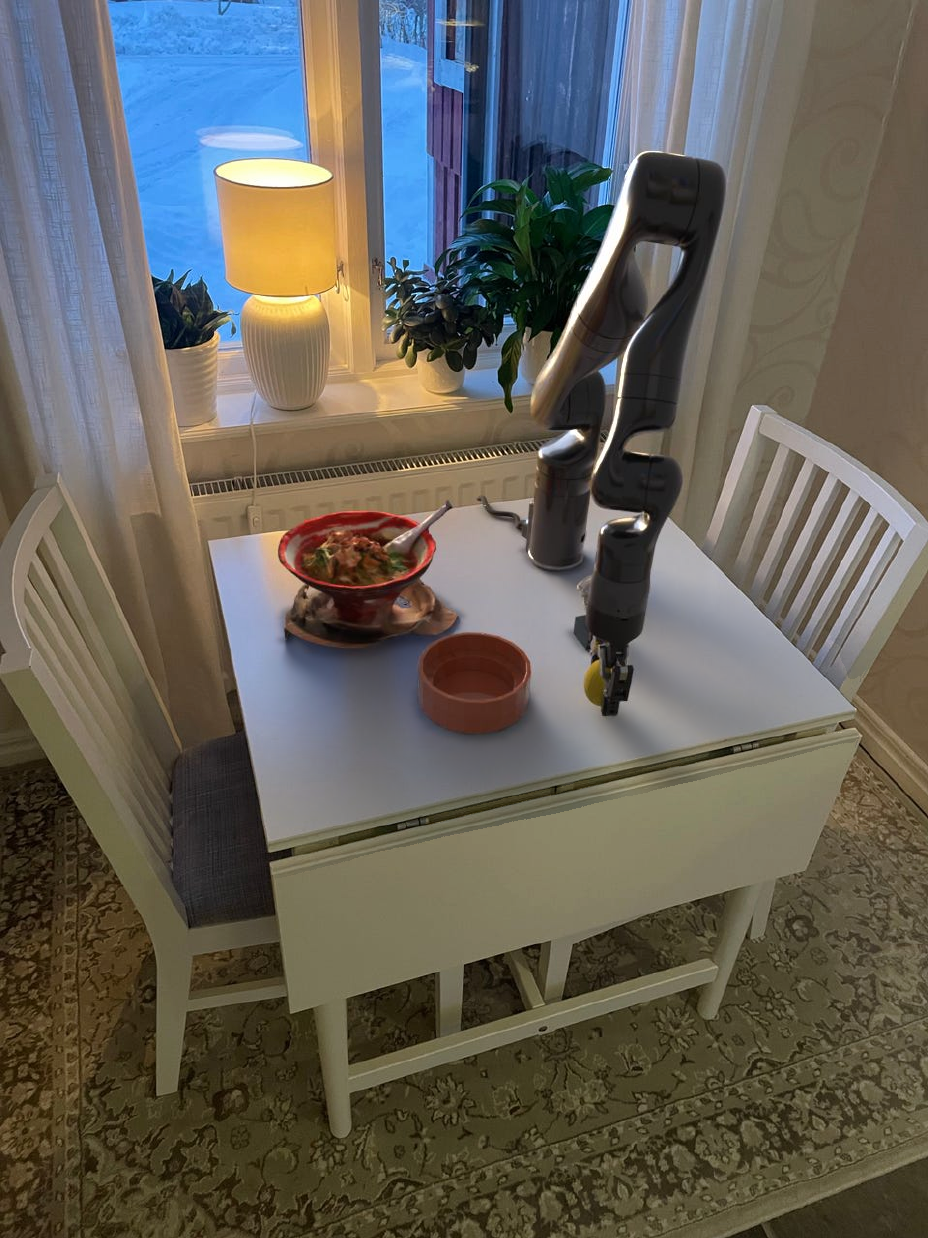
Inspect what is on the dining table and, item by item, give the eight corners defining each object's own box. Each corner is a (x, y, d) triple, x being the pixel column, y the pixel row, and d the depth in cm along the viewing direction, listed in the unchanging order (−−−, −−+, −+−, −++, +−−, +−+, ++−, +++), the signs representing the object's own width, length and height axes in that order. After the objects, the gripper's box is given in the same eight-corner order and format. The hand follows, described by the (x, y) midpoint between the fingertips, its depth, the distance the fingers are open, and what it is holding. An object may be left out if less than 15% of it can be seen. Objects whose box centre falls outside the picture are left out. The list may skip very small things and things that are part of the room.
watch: (599, 619, 146) (608, 560, 140) (624, 649, 140) (634, 589, 134) (567, 626, 145) (574, 566, 138) (590, 656, 138) (599, 595, 132)
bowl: (397, 689, 131) (397, 656, 128) (483, 652, 138) (485, 620, 135) (461, 752, 121) (462, 718, 118) (550, 709, 129) (553, 675, 125)
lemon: (619, 721, 127) (627, 676, 122) (578, 715, 128) (585, 669, 123) (622, 695, 131) (629, 651, 127) (582, 689, 132) (589, 645, 128)
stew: (433, 559, 159) (434, 474, 150) (478, 641, 141) (482, 550, 131) (268, 583, 152) (258, 495, 142) (292, 673, 133) (283, 579, 124)
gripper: (577, 568, 124) (565, 665, 134) (602, 632, 113) (587, 733, 123) (632, 566, 125) (616, 663, 135) (662, 630, 114) (642, 730, 123)
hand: (602, 696), depth 129 cm, fingers open, 7 cm apart
